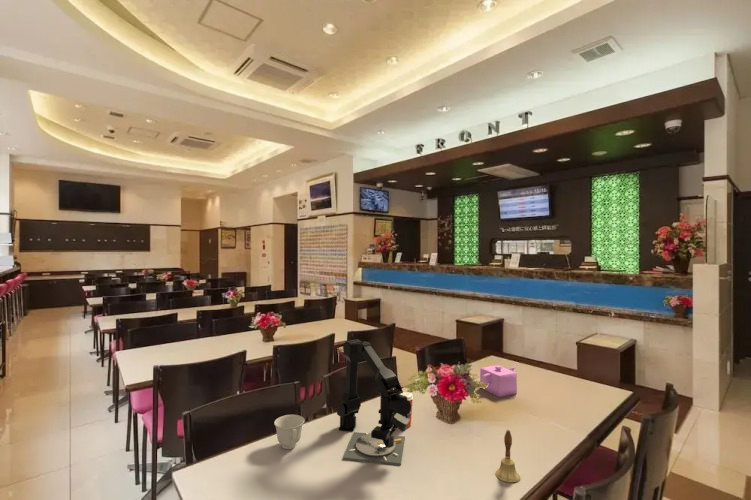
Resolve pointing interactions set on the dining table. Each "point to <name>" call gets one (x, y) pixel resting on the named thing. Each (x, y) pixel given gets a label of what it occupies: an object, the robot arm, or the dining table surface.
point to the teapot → (499, 380)
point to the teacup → (289, 430)
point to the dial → (374, 446)
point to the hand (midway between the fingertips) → (387, 446)
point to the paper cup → (410, 399)
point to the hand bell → (507, 463)
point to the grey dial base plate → (391, 458)
